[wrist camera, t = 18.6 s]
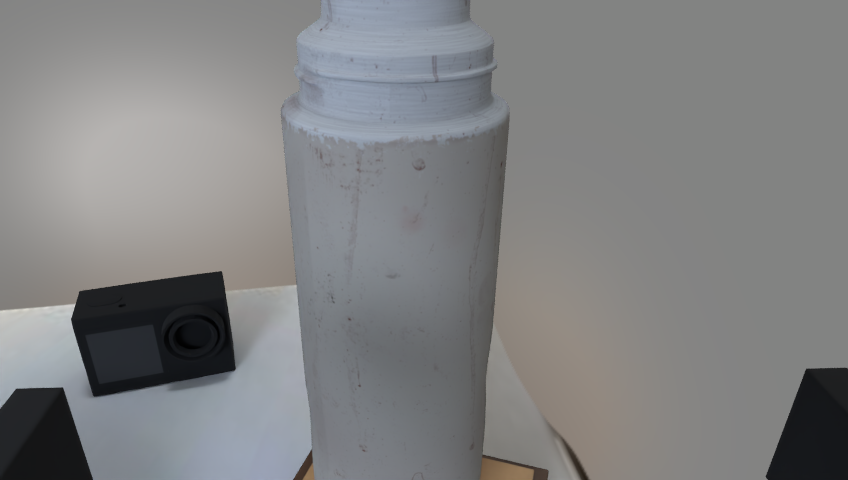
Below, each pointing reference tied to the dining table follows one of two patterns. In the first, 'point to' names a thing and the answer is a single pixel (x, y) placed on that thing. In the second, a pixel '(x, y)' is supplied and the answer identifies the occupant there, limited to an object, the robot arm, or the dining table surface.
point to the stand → (496, 473)
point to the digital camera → (154, 332)
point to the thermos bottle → (395, 234)
